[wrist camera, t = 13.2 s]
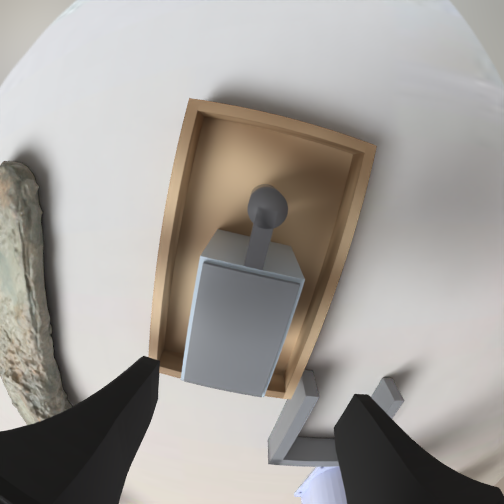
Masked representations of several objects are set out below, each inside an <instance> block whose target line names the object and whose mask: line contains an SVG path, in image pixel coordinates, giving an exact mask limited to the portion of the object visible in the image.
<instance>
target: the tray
mask: <svg viewBox="0 0 504 504" xmlns="http://www.w3.org/2000/svg"><path fill="white" fill-rule="evenodd" d="M376 147H377V146H376V145H373V144H370V143H368V142H365V141H362V140H359V139H357V138H354V137H351V136H348V135H345V134H342V133H339V132H336V131H333V130H329V129H326V128H323V127H320V126H316V125H313V124H310V123H306V122H302V121H299V120H295V119H291V118H287V117H284V116H280V115H275V114H271V113H267V112H263V111H258V110H254V109H249V108H244V107H239V106H234V105H228V104H223V103H217V102H211V101H205V100H198V99H191V98H189V101H188V105H187V109H186V113H185V117H184V121H183V125H182V129H181V133H180V137H179V141H178V146H177V150H176V155H175V159H174V164H173V169H172V174H171V179H170V184H169V189H168V194H167V200H166V205H165V211H164V217H163V223H162V230H161V236H160V243H159V250H158V258H157V265H156V274H155V282H154V292H153V302H152V313H151V325H150V340H149V358H152V359H156V360H159V361H160V369H159V373H162V374H166V375H169V376H173V377H177V378H181V373H182V366H183V358H184V351H185V344H186V337H187V331H188V324H189V318H190V312H191V305H192V299H193V293H194V288H195V282H196V276H197V271H198V265H199V260H200V255H201V254H202V252H203V251H204V249H205V248H206V246H207V245H208V243H209V241H210V240H211V238H212V237H213V235H214V234H215V232H216V231H217V229H219V230H224V231H228V232H232V233H237V234H241V235H245V236H250V235H251V231H252V227H253V222H252V221H251V220H250V218H249V215H248V203H249V199H250V195H251V192H252V191H253V189H254V188H255V187H256V186H258V185H261V184H269V185H272V186H273V187H275V188H276V189H277V190H278V191H279V192H280V193H281V194H282V195H283V196H284V198H285V199H286V201H287V204H288V214H287V217H286V219H285V221H284V222H283V223H282V224H281V225H280V226H278V227H276V228H274V229H273V232H272V236H271V240H270V241H271V242H275V243H279V244H284V245H288V246H291V248H292V250H293V252H294V255H295V257H296V259H297V262H298V264H299V266H300V269H301V271H302V274H303V276H304V278H305V282H304V285H303V288H302V291H301V294H300V297H299V300H298V303H297V306H296V309H295V312H294V315H293V318H292V321H291V324H290V327H289V330H288V333H287V336H286V339H285V342H284V345H283V347H282V350H281V353H280V356H279V358H278V361H277V364H276V367H275V369H274V372H273V375H272V377H271V380H270V383H269V385H268V388H267V391H266V393H265V396H269V397H276V398H283V399H291V398H292V396H293V394H294V392H295V390H296V387H297V385H298V383H299V381H300V378H301V376H302V374H303V372H304V369H305V367H306V365H307V362H308V360H309V358H310V355H311V353H312V350H313V348H314V345H315V343H316V341H317V338H318V335H319V333H320V330H321V328H322V325H323V323H324V320H325V317H326V315H327V312H328V309H329V307H330V304H331V301H332V299H333V296H334V293H335V290H336V287H337V284H338V282H339V279H340V276H341V273H342V270H343V267H344V264H345V261H346V258H347V255H348V251H349V248H350V245H351V242H352V239H353V235H354V232H355V229H356V225H357V222H358V218H359V215H360V211H361V208H362V204H363V200H364V197H365V193H366V189H367V185H368V181H369V177H370V173H371V169H372V165H373V161H374V156H375V152H376Z"/></svg>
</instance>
